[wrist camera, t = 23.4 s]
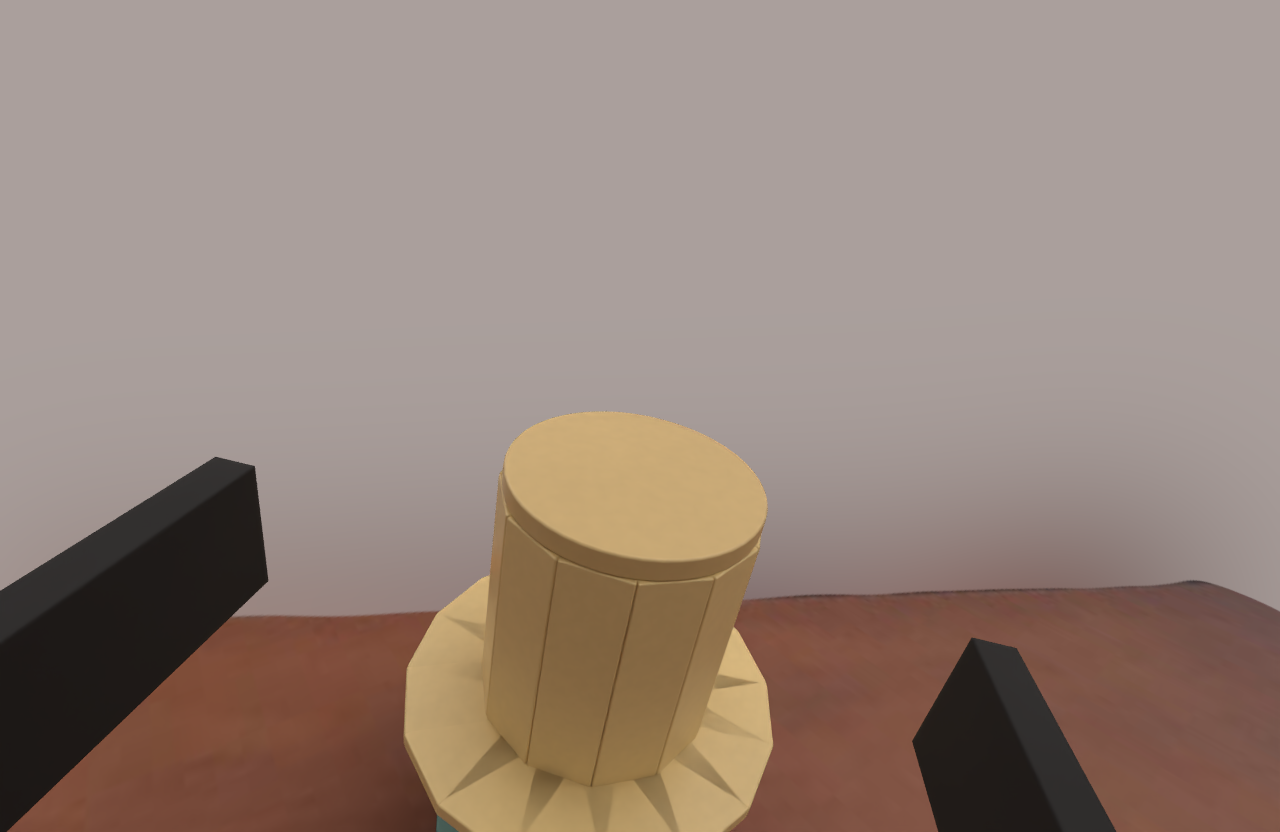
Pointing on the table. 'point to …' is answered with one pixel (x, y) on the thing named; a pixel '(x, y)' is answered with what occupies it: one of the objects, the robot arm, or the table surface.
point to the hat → (600, 641)
